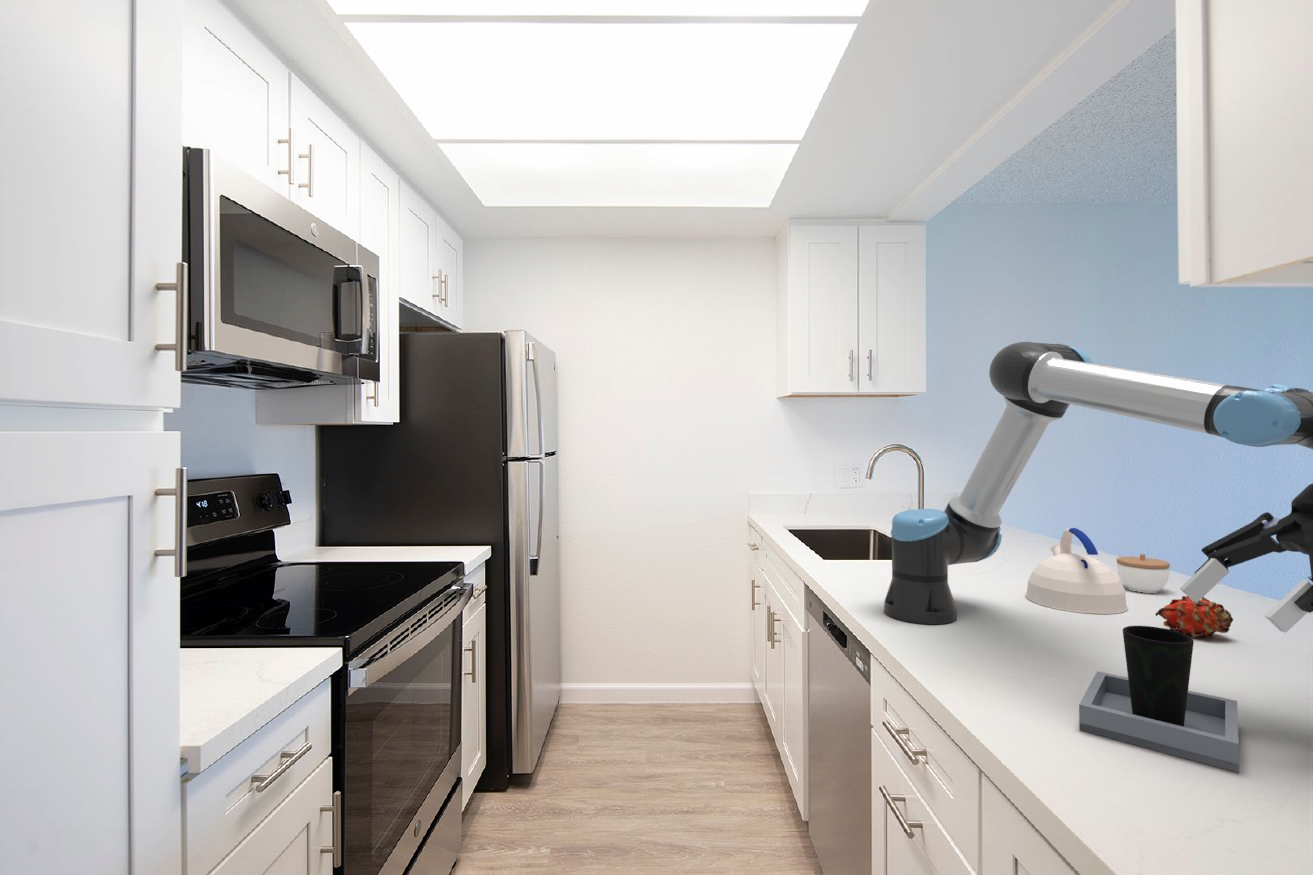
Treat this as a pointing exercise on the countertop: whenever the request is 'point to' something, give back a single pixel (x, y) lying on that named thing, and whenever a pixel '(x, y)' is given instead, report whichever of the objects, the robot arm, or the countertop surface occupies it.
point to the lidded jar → (1143, 573)
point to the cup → (1158, 672)
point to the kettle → (1076, 580)
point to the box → (1164, 723)
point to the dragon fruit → (1196, 617)
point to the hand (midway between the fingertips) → (1227, 609)
